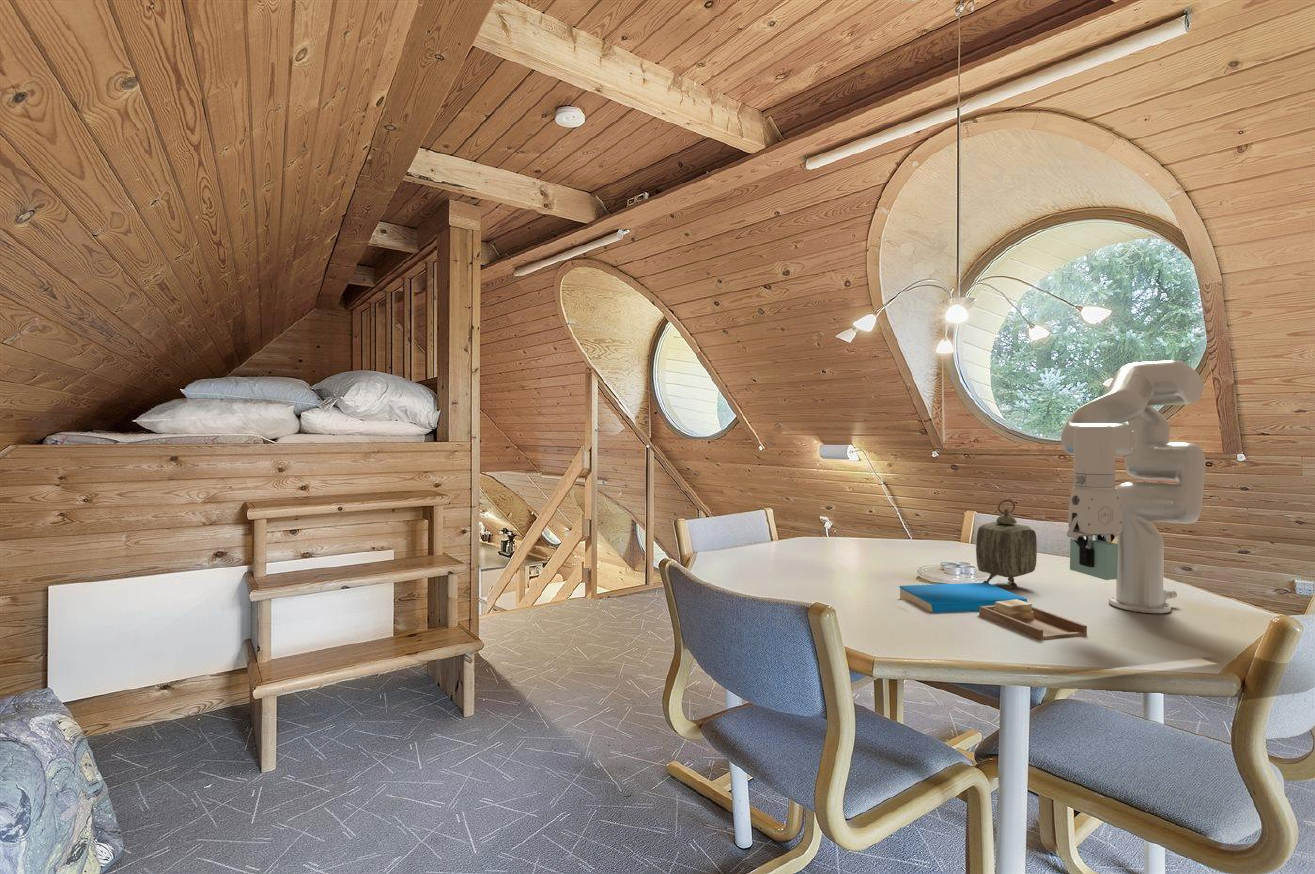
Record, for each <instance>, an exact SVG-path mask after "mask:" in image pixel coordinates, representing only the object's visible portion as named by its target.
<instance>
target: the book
mask: <svg viewBox="0 0 1315 874" xmlns="http://www.w3.org/2000/svg"><path fill="white" fill-rule="evenodd" d="M898 586H899V599H900V600H901V601H902V600H903V601H904V600H908V601H911V602H912V603H914V604H916V605H918V606H920V607H922V608H924V609H925V610H927V611H929V612H931V613H933V614H935V613H955V612H956V613H957V612H959V613H960V612H978V611H979V606H991V605H995V602H997V601H1006V600H1015V599H1018V600H1021V601H1024V602H1027V603H1029V602H1028V599H1027V598H1025V597H1024V596H1023V597H1022V596H1021V595H1018V594H1015V593H1013V592H1010V591H1008V590H1006V589H1004V588H1001V587H999V586H997V585H994V584H990V582H989V583H983V582H968V583H967V582H966V583H965V582H964V583H939V584H938V583H937V584H936V583H935V584H916V585H915V584H914V585H913V584H911V585H898Z"/></svg>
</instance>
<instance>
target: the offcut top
mask: <svg viewBox="0 0 1315 874" xmlns="http://www.w3.org/2000/svg"><path fill="white" fill-rule="evenodd" d="M1027 602H1028V601H1027ZM1027 602H1024V601H1021V600H1018V599H1015V600H1006V601H997V602H995V609H996V610H999V611H1002V612H1004V613H1007V614H1017V613H1025V612H1032V607H1033V604H1032V603H1030V602H1028V603H1027Z"/></svg>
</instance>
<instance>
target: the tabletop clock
mask: <svg viewBox="0 0 1315 874" xmlns="http://www.w3.org/2000/svg"><path fill="white" fill-rule="evenodd" d="M1005 502H1010V503H1011V504H1012V508H1011V509H1010V510H1009V509H1008V508H1005V509H1003V510H1001V509H1000V507H1001V506H1002V505H1003V503H1005ZM997 504H998V505H997V511H998V512H999V513H1000V514H1001V515H999V516H998V517H997V518H996V521H992V522H988V523H984V524H982V525H980V526H979V527H978V529H977V533H976V541H975V542H976V543H975V544H976V545H975V554H976V555H975V556H976V565H977V569H978V571H980V572H983V573H985V574H990V575H989V576H988V578H987V580H983V582H982V583H989V584H990V581H991V580H992V579H993V578H994V577H996V576H999V577H1003V578H1007V580H1008V582H1009V583H1010V588H1012V589H1016V588H1018V584H1017V583H1016V582H1015V578H1017V577H1021V576H1024V575H1028V574H1030V573H1033V572H1034V571H1035V570H1036V566H1037V560H1038V559H1037V554H1038V550H1037V549H1038V548H1037V547H1038V545H1037V542H1038V541H1037V535H1036V531H1035V530H1034V529H1033V528H1031V527H1030V526H1028V525H1023V524H1018V522H1017V519H1016V518H1015V517H1014V516H1012V515H1010V514H1011V513H1014V511H1015V509H1016V504H1015V501H1013V500H1012V499H1009V498H1005V499H1001V501H1000V502H999V503H997Z"/></svg>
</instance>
